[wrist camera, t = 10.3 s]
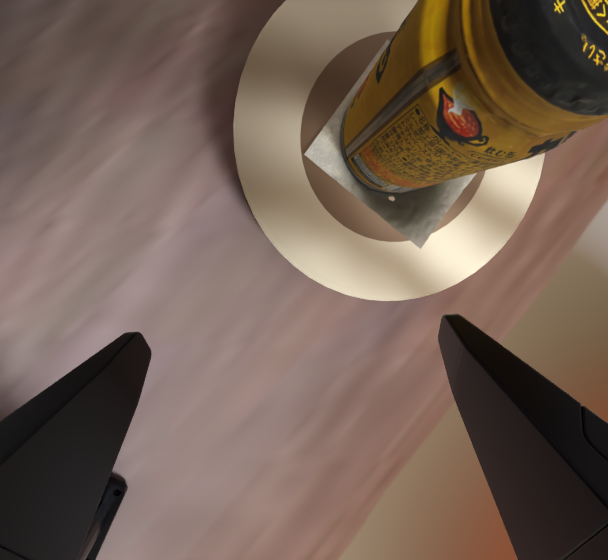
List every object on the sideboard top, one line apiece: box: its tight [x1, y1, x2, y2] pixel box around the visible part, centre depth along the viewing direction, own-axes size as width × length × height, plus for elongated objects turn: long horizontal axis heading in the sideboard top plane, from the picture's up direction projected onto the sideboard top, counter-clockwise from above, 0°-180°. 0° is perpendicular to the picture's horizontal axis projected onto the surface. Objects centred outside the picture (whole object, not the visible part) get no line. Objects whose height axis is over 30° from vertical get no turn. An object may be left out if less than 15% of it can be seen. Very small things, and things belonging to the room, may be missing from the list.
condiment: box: [304, 0, 608, 249], centre depth 12 cm, size 7×8×12 cm
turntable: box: [233, 0, 545, 301], centre depth 18 cm, size 18×18×2 cm
